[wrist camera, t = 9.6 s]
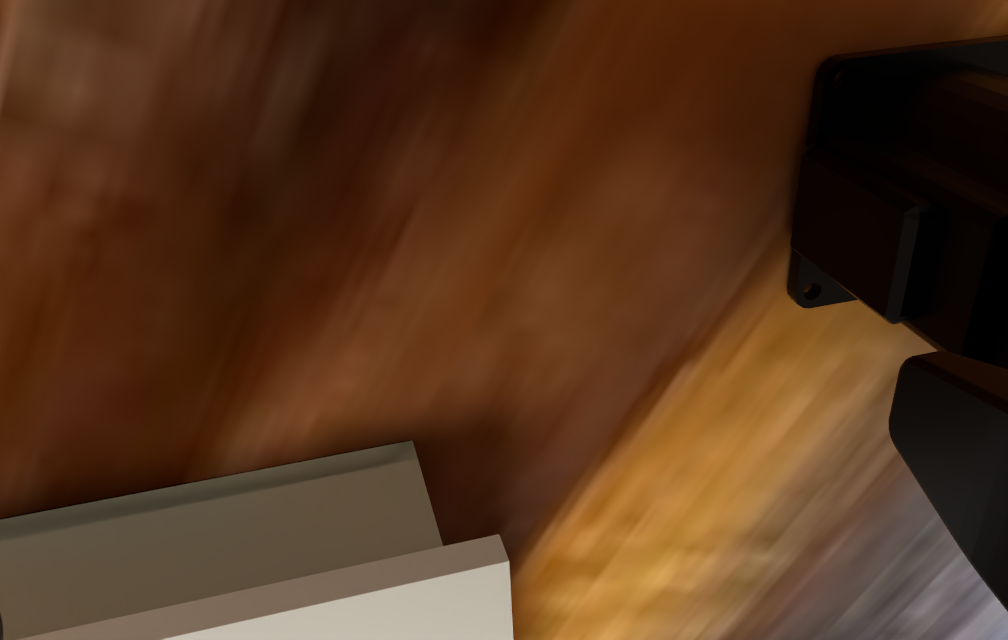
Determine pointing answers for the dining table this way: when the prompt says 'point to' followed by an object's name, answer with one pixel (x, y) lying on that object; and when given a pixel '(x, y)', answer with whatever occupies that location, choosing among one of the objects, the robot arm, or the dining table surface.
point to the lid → (344, 604)
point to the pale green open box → (210, 538)
